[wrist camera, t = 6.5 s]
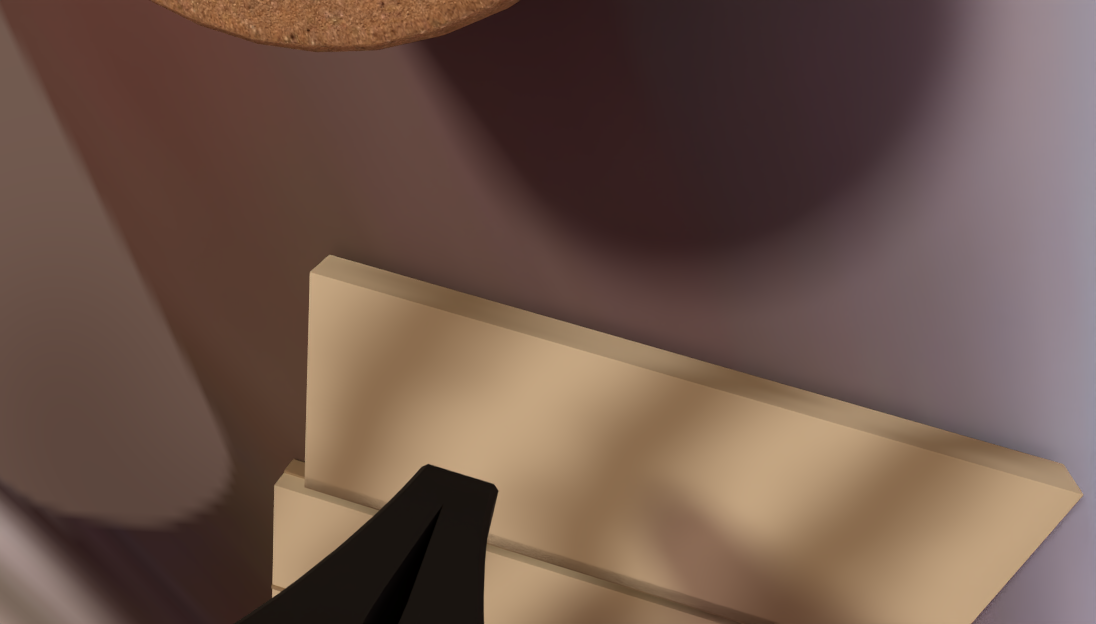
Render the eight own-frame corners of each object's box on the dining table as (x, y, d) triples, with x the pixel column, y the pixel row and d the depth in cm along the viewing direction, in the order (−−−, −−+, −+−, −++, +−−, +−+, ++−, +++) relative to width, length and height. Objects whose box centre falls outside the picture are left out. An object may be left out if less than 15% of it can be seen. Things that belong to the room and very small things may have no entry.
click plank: (1063, 464, 18) (1083, 494, 17) (913, 646, 22) (922, 679, 21) (329, 254, 19) (310, 272, 18) (320, 464, 23) (304, 487, 22)
